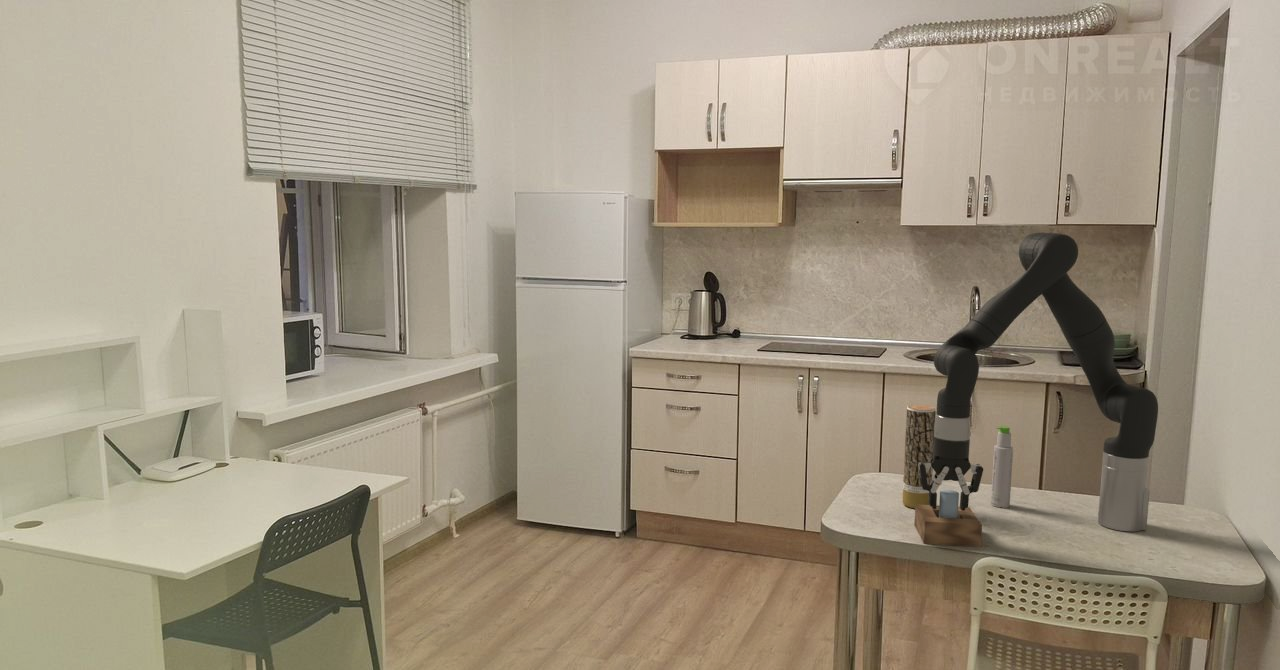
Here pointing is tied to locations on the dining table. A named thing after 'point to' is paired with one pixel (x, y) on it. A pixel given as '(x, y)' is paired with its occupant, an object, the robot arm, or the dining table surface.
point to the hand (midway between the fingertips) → (947, 508)
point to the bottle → (1002, 469)
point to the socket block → (947, 527)
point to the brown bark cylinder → (918, 452)
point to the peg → (948, 504)
